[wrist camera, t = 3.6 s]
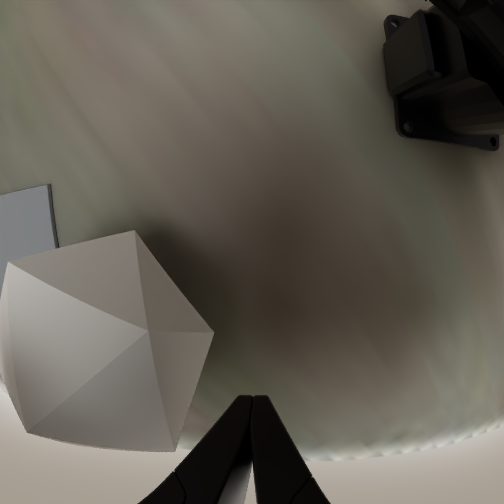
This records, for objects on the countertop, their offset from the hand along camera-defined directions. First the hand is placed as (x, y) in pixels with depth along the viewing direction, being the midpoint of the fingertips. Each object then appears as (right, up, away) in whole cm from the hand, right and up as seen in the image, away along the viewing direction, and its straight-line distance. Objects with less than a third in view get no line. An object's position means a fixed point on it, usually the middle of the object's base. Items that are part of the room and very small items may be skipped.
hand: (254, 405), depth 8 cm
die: (-6, +2, +7) cm, 10 cm away
